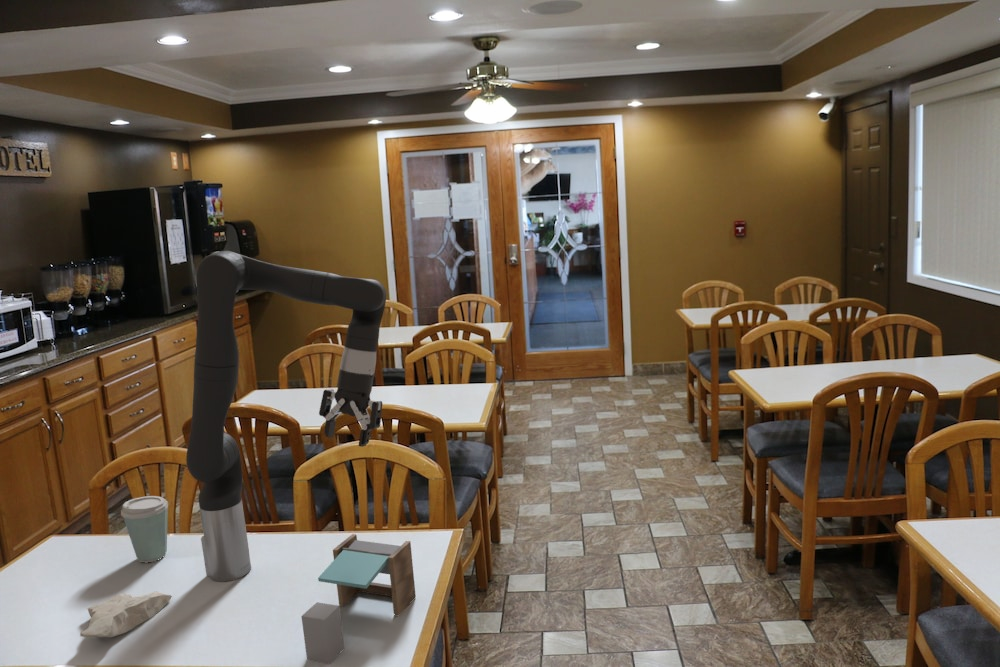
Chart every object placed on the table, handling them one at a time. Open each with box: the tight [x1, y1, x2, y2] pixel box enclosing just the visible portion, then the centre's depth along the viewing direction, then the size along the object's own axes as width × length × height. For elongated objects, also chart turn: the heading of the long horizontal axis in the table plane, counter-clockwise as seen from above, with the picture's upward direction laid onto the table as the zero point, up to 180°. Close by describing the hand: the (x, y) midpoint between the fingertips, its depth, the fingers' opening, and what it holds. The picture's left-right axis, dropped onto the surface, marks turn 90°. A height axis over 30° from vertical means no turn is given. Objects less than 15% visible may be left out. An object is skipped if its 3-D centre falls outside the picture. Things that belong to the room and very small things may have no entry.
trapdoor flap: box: [317, 539, 401, 589], centre depth 162 cm, size 14×11×6 cm
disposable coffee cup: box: [120, 495, 169, 564], centre depth 194 cm, size 11×11×15 cm
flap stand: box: [332, 533, 417, 616], centre depth 166 cm, size 8×14×13 cm, turn 68°
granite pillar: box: [301, 602, 345, 665], centre depth 149 cm, size 5×5×9 cm
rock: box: [79, 591, 172, 638], centre depth 166 cm, size 21×5×15 cm
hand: (345, 441), depth 174 cm, fingers open, 8 cm apart
